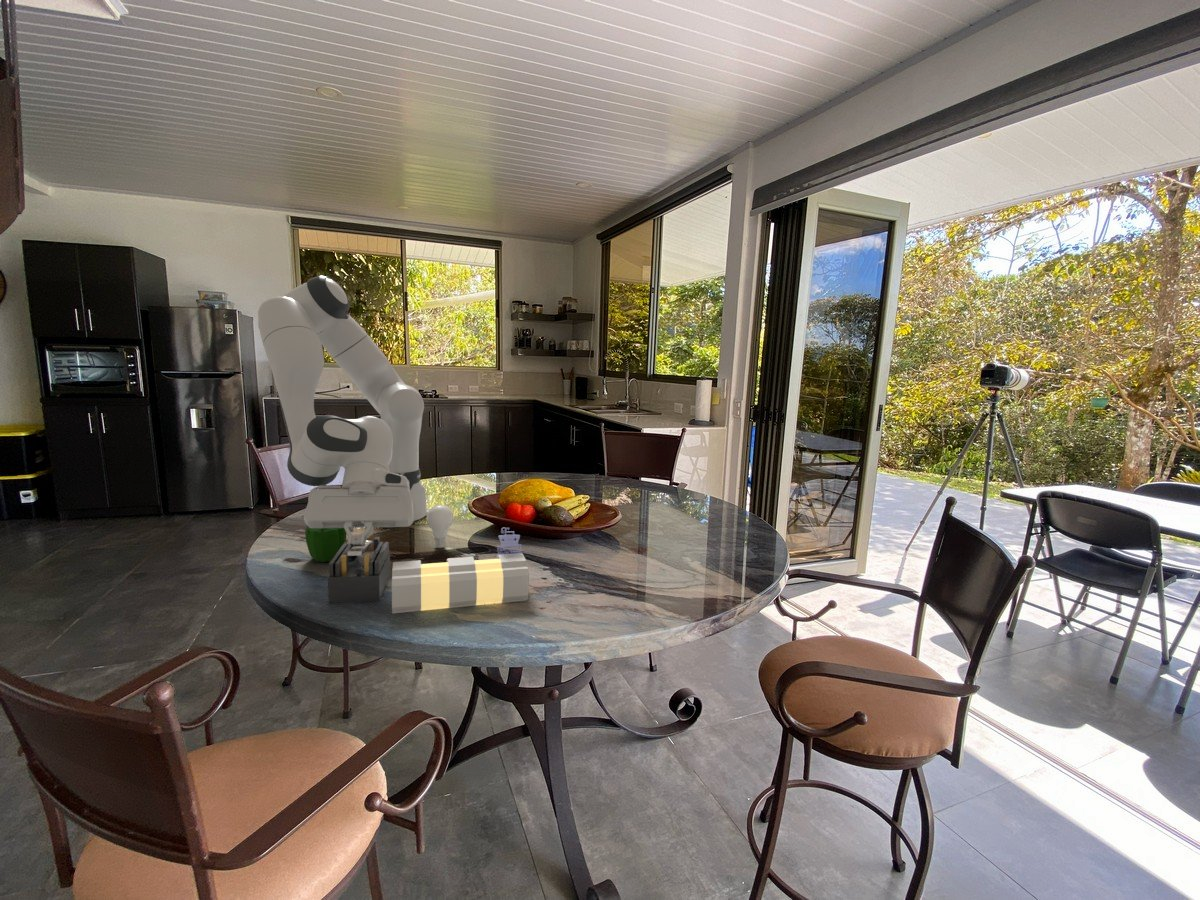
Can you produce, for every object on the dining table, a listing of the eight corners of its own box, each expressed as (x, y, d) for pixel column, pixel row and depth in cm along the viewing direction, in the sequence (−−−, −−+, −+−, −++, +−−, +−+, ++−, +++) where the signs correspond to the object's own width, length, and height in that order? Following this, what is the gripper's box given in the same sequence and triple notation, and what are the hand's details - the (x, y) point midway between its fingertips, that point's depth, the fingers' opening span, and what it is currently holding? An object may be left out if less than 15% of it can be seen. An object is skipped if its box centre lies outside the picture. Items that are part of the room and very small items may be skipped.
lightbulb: (445, 553, 127) (445, 509, 126) (421, 550, 129) (421, 507, 127) (457, 545, 134) (458, 503, 132) (434, 542, 135) (434, 500, 133)
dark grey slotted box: (344, 575, 112) (344, 537, 110) (390, 574, 114) (389, 536, 112) (328, 602, 99) (327, 559, 98) (379, 600, 101) (378, 558, 100)
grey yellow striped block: (519, 583, 113) (520, 524, 111) (528, 604, 104) (530, 540, 102) (394, 593, 105) (393, 530, 103) (392, 617, 96) (391, 548, 94)
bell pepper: (323, 550, 126) (322, 509, 124) (354, 554, 124) (353, 513, 122) (296, 562, 117) (294, 519, 116) (328, 567, 116) (327, 523, 114)
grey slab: (360, 545, 111) (360, 540, 111) (373, 544, 111) (373, 539, 111) (347, 556, 100) (347, 551, 100) (361, 555, 100) (361, 550, 100)
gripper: (307, 476, 106) (293, 539, 98) (414, 477, 111) (409, 537, 103) (314, 493, 111) (301, 553, 103) (417, 492, 116) (411, 550, 108)
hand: (356, 545), depth 103 cm, fingers closed, pressing on grey slab
